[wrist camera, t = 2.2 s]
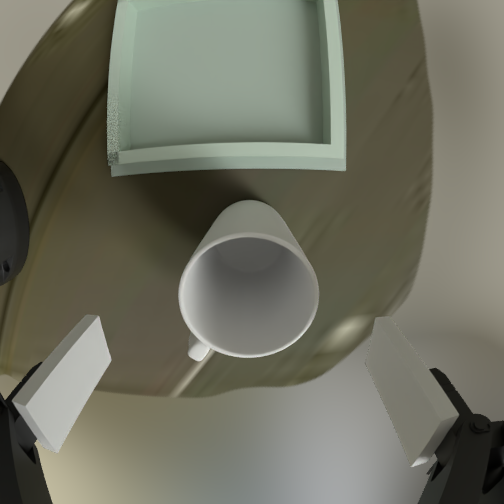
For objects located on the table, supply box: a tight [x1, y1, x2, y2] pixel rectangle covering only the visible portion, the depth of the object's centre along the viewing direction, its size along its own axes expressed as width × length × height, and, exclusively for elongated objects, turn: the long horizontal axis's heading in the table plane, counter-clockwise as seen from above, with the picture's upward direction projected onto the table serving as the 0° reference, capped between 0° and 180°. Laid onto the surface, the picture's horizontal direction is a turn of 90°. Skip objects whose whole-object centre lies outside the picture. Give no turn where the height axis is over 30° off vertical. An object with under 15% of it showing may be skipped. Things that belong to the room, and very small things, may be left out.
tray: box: [107, 0, 346, 177], centre depth 19 cm, size 20×18×3 cm
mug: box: [178, 200, 319, 361], centre depth 20 cm, size 10×7×12 cm, turn 143°
